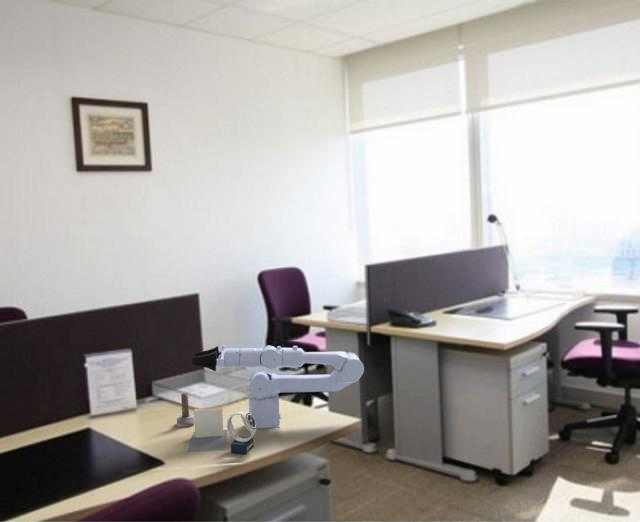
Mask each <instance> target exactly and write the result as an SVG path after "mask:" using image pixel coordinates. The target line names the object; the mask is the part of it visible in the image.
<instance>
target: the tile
mask: <svg viewBox="0 0 640 522" xmlns="http://www.w3.org/2000/svg"><path fill="white" fill-rule="evenodd" d="M223 411H224V410H223V407H222V406H220V407H206V408H205V407H204V408H202V407H201V408H199V407H198V408H194V409H193V414H194V432H195V438H198V437H214V436H223V434H224V432H223V430H224V416H223V415H224V414H223V413H224V412H223Z"/></svg>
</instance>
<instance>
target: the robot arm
mask: <svg viewBox="0 0 640 522" xmlns="http://www.w3.org/2000/svg"><path fill="white" fill-rule="evenodd" d="M194 355H195V356H192V358H191V359H192V361H191V362H192V366H195V367H201V368H205V369H209V370H212V371H213V372H216V371H217V367H221V369H226V368H231V369H232V368H251V367H252V368H255V367H264V368H266V369H270V370H273V369H276V368H277V367H280V368H283V367H285V368H301V367H302V366H303V365H305V364H314V365H315V364H316V365H329V366H332V367H334V368H335V369H333V371H332V372H331V373H330V374H293V375H291V374H290V375H289V374H287V375H286V374H285V375H283V374H282V375H281V374H278V373H274V372H273V373H271V372H270V373H269V372H266V371H264V370H256V371H254V372H253V373H252V374H251V376H250V378H249V388H248V390H249V394H248V413H251V414H252V415H253V416H254V418H255V420H256V422H257V428H256V429H263V428H265V429H266V428H278V429H279V428H280V427H281V423H280V422H281V421H280V420H281V412H280V400H279V399H280V398H279V397H280V396H279V394H280V393H310V392H311V393H315V392H317V393H318V392H319V393H321V392H322V393H323V392H339V391H341V390H342V389H344V388H346V387H348V386H349V385H351V384H354V383H357V382H358V381H359V380H360V378H361V377H362V376H363V374H364V372H365V365H364V364H363V362H362V361H361V359H360V357H359V356H358V354H356V353H354V352H352V351H351V352H350V351H348V352H346V351H340V350H339V351H308V352H307V351H305V350H304V349H303V348H301V347H298V345H293V346H292V347H281V345H278V346H277V347H275V346H273V345H270V344H268V345H265V346H263V347H235V348H233V347H231V348H229V347H228V348H226V344H222V348H221V350H220V349H219V346H218V345H217V346H215V347H213V348H211V349H208V350H202V351H199V352H195V354H194Z"/></svg>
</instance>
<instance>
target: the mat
mask: <svg viewBox="0 0 640 522" xmlns="http://www.w3.org/2000/svg"><path fill="white" fill-rule="evenodd" d="M223 432H224V434H223V436H214V437H198V438H195V431H193V433H192V436H191V440H190V441H189V445H188V448H187V453H193V452H195V453H196V452H209V451H210V452H211V451H223V450H226V443H227V438H228V437H227V436H228V432H229V431H228V429H223Z"/></svg>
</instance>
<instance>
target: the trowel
mask: <svg viewBox="0 0 640 522" xmlns="http://www.w3.org/2000/svg"><path fill="white" fill-rule="evenodd" d="M180 399H181V413H182V414H179V415H177V416H176V427H178V428H179V427H191V426H192V427H193V426H194V427H195V423H194V413H193V414H192V413H191V414H190V412H189V411H190V410H189V393H187V392H183V393H181V394H180Z"/></svg>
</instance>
